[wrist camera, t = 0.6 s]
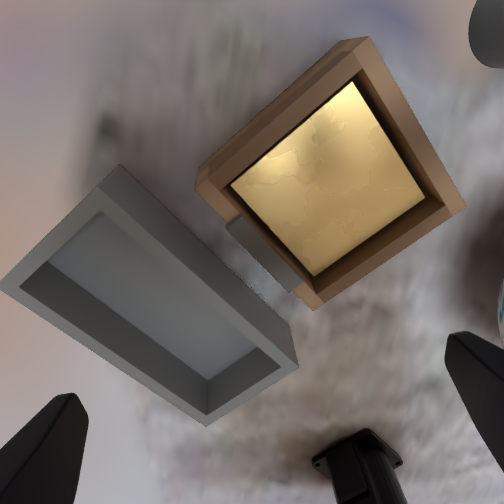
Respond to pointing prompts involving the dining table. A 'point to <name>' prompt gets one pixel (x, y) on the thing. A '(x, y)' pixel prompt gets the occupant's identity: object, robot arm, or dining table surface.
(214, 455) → the dining table surface
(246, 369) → the trough
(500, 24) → the battery cell
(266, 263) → the frame
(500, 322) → the chinaware
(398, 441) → the dining table surface
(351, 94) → the plate
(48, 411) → the robot arm
